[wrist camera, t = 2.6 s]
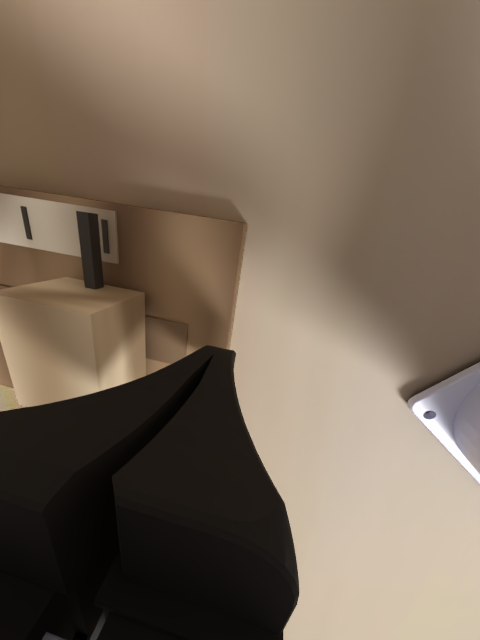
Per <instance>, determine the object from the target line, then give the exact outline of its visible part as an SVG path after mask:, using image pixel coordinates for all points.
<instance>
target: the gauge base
mask: <svg viewBox="0 0 480 640" xmlns="http://www.w3.org/2000/svg"><path fill="white" fill-rule="evenodd" d="M76 211H81V212H89V213H95V214H98V222H99V234H100V245H101V257H102V269H103V281H104V285H109V286H114V287H119V288H124V289H129V290H134V291H139V292H144V293H145V349H146V375H149V374H151V373H154V372H156V371H158V370H160V369H162V368H164V367H166V366H168V365H170V364H173V363H175V362H177V361H178V360H180V359H182V358H184V357H186V356H188V355H190V354H191V353H193V352H195V351H197V350H198V349H200V348H202V347H204V346H206V345H210V346H214V347H219V348H223V349H228V350H229V348H230V341H231V334H232V327H233V321H234V314H235V307H236V300H237V293H238V286H239V279H240V272H241V265H242V259H243V252H244V245H245V238H246V231H247V224H245V223H240V222H234V221H227V220H221V219H214V218H208V217H201V216H195V215H188V214H181V213H175V212H168V211H162V210H155V209H149V208H142V207H136V206H129V205H123V204H116V203H110V202H103V201H97V200H90V199H84V198H77V197H71V196H64V195H57V194H51V193H44V192H38V191H31V190H25V189H18V188H12V187H5V186H0V289H5V288H11V287H16V286H21V285H27V284H32V283H37V282H43V281H48V280H53V279H59V278H64V277H69V278H74V279H79V280H84V276H83V267H82V259H81V250H80V242H79V233H78V224H77V216H76ZM0 385H4V386H8V387H11V388H14V387H13V383H12V380H11V376H10V373H9V369H8V366H7V362H6V359H5V355H4V352H3V348H2V345H1V341H0Z"/></svg>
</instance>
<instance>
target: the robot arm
mask: <svg viewBox="0 0 480 640" xmlns="http://www.w3.org/2000/svg"><path fill="white" fill-rule="evenodd" d="M235 356H236V353H235V352H234V351H232V350H228V349H223V348H219V347H214V346H210V345H206V346H204V347H202V348H200V349H198V350H197V351H195V352H193V353H191V354H190V355H188V356H186V357H184V358H182V359H180V360H178V361H177V362H175V363H173V364H170V365H168V366H166V367H164V368H162V369H160V370H158V371H156V372H154V373H151V374H149V375H146V376H144V377H141V378H139V379H136V380H133V381H131V382H128V383H125V384H122V385H119V386H115V387H112V388H109V389H105V390H102V391H99V392H95V393H92V394H88V395H84V396H80V397H76V398H72V399H67V400H62V401H58V402H53V403H48V404H43V405H38V406H32V407H26V408H20V409H14V410H8V411H2V412H0V640H283V629H284V628H285V626H286V624H287V622H288V620H289V618H290V616H291V614H292V613H293V611H294V609H295V607H296V605H297V601H298V597H299V580H298V570H297V563H296V556H295V549H294V543H293V538H292V533H291V528H290V524H289V520H288V516H287V511H286V507H285V503H284V502H283V500H282V498H281V496H280V495H279V493H278V491H277V489H276V488H275V486H274V484H273V482H272V480H271V479H270V477H269V475H268V473H267V471H266V469H265V467H264V465H263V463H262V461H261V459H260V457H259V455H258V453H257V451H256V449H255V446H254V444H253V442H252V439H251V437H250V434H249V432H248V430H247V427H246V425H245V422H244V419H243V416H242V413H241V409H240V406H239V402H238V398H237V393H236V388H235V382H234V372H233V369H234V362H235ZM408 407H409V409H410V410H411V411H412V413H413V414H414V415H415V416H416V417H417V418H418V419H419V420H420V421H421V422H422V423H423V424H424V425H425V426H426V428H427V429H428V430H429V431H430V432H431V433H432V434H433V435H434V436H435V437H436V438H437V439H438V440H439V441H440V443H441V444H442V445H443V446H444V447H445V448H446V449H447V450H448V451H449V452H450V453H451V454H452V455H453V456H454V457H455V459H456V460H457V461H458V462H459V463H460V464H461V465H462V466H463V467H464V468H465V469H466V470H467V471H468V472H469V474H470V475H471V476H472V477H473V478H474V479H475V480H476V481H477V482H478V483H479V484H480V362H479V363H477V364H475V365H473V366H471V367H469V368H467V369H465V370H463V371H461V372H459V373H457V374H455V375H454V376H452V377H450V378H448V379H446V380H444V381H442V382H440V383H438V384H436V385H434V386H432V387H430V388H428V389H426V390H424V391H422V392H421V393H419V394H417V395H415V396H413V397H411V398H410V399H409V401H408ZM426 411H429V412H428V413H425V412H426Z"/></svg>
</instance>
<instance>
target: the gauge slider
mask: <svg viewBox="0 0 480 640" xmlns="http://www.w3.org/2000/svg"><path fill="white" fill-rule="evenodd" d="M76 216H77V224H78V233H79V242H80V250H81V259H82V267H83V276H84V280H79V279H74V278H69V277H64V278H59V279H53V280H48V281H43V282H37V283H32V284H27V285H21V286H16V287H11V288H5V289H0V341H1V345H2V348H3V352H4V355H5V359H6V362H7V366H8V369H9V373H10V376H11V380H12V383H13V387H14V390H15V394H16V397H17V401H18V404H19V405H22V406H26V407H32V406H38V405H43V404H48V403H53V402H58V401H62V400H67V399H72V398H76V397H80V396H84V395H88V394H92V393H95V392H99V391H102V390H105V389H109V388H112V387H115V386H119V385H122V384H125V383H128V382H131V381H133V380H136V379H139V378H141V377H144V376H146V349H145V293H144V292H139V291H134V290H129V289H124V288H119V287H114V286H109V285H104V281H103V269H102V257H101V245H100V234H99V222H98V214H95V213H89V212H81V211H76Z"/></svg>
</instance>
